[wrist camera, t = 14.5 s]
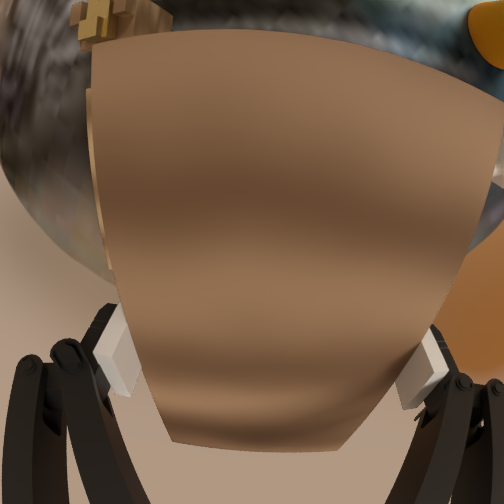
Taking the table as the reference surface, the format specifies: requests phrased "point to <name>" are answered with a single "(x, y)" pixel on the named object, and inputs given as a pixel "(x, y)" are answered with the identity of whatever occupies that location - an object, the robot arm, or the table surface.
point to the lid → (281, 222)
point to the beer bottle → (488, 31)
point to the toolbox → (128, 25)
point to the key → (98, 22)
